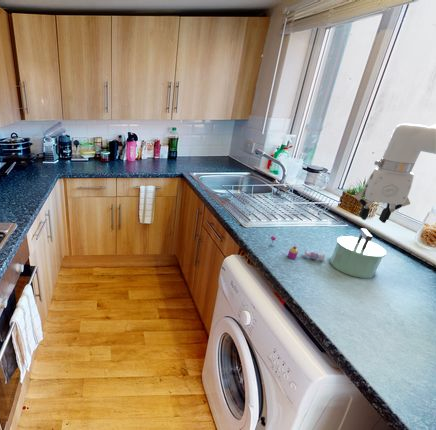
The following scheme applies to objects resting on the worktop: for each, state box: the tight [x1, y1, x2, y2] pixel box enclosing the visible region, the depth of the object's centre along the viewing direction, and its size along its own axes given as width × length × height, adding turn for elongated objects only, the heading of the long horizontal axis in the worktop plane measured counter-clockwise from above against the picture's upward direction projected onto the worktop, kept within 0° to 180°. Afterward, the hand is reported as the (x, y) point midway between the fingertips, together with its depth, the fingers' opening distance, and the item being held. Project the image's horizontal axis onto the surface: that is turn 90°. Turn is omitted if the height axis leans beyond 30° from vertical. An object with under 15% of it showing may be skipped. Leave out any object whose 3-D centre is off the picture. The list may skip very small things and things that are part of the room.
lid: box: [336, 228, 387, 258], centre depth 99 cm, size 14×14×6 cm
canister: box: [329, 243, 383, 279], centre depth 102 cm, size 13×13×8 cm
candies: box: [270, 235, 325, 262], centre depth 109 cm, size 18×8×6 cm, turn 62°
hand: (372, 219), depth 95 cm, fingers open, 4 cm apart
